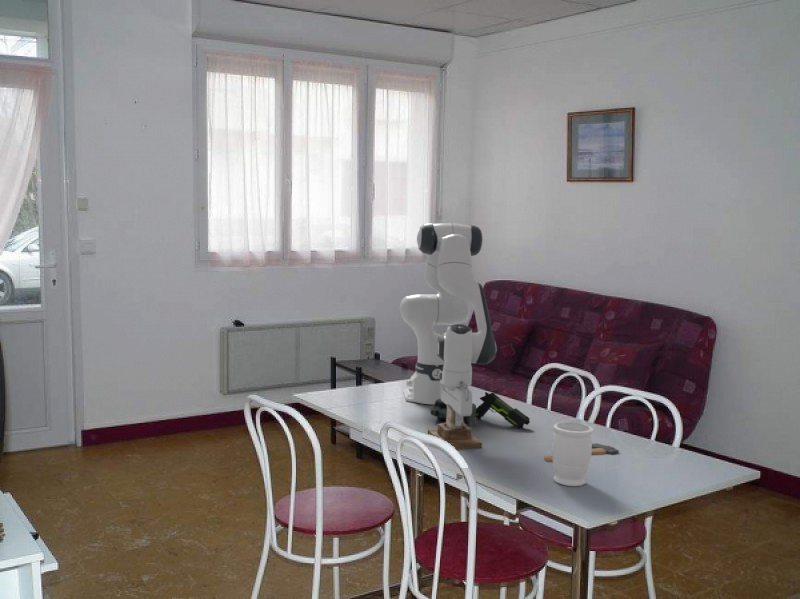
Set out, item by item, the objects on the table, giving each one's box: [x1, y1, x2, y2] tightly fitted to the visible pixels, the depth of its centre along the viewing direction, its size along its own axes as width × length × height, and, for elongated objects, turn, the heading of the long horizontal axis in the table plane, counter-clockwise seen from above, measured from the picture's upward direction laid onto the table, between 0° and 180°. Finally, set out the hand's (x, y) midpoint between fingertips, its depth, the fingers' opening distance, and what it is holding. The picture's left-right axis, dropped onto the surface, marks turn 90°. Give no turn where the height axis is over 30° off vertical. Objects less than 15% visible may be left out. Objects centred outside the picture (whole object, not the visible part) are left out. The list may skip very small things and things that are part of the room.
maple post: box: [445, 404, 464, 429], centre depth 257 cm, size 4×4×9 cm
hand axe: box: [543, 442, 620, 463], centre depth 249 cm, size 27×2×10 cm
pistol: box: [476, 391, 531, 430], centre depth 279 cm, size 21×3×10 cm, turn 54°
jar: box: [551, 421, 594, 487], centre depth 223 cm, size 11×10×15 cm
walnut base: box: [427, 422, 483, 450], centre depth 257 cm, size 16×12×4 cm
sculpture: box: [430, 399, 477, 426], centre depth 280 cm, size 12×8×15 cm
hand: (454, 423), depth 257 cm, fingers closed on maple post, 4 cm apart
